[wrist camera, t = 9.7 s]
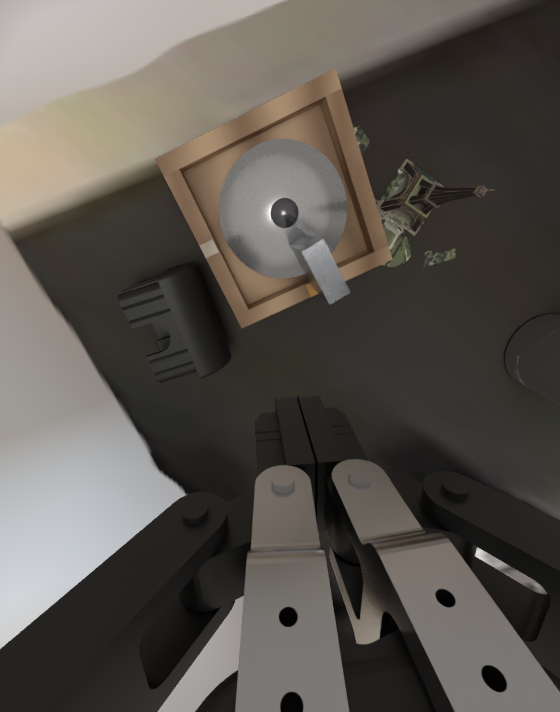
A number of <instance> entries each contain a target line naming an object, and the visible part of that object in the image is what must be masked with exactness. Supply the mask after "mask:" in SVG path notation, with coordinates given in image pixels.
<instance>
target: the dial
mask: <svg viewBox="0 0 560 712" xmlns="http://www.w3.org/2000/svg"><path fill="white" fill-rule="evenodd" d="M219 216H220V223H221V227H222V231H223V234H224V237H225V239H226V241H227V243H228V245H229V247H230V248H231V250H232V251H233V253H234V254H235V255H236V256H237V257H238V259H239V260H240V261H241V262H243V263H244V264H245V265H246V266H247V267H249V268H251V269H252V270H254V271H256V272H258V273H260V274H263V275H266V276H269V277H274V278H292V277H297V276H300V275H303V274H305V275H306V276H307V278H308V280H309V282H310V284H311V286H312V288H313V289H314V290H315V291H316V292H317V293H318V294H319V295H320V296H321V297H322V298H323V299H324V300H325V301H326V302H327V303H328V304H329V305H330V304H332V303H334V302H335V301H337V300H339V299H341V298H342V297H344V296H346V295H347V294H349V293H350V291H349V289H348V287H347V285H346V283H345V281H344V279H343V277H342V275H341V273H340V271H339V269H338V267H337V265H336V263H335V261H334V259H333V257H332V255H331V254H332V253H333V251H334V250H335V248H336V247H337V245H338V243H339V241H340V239H341V237H342V234H343V231H344V228H345V224H346V217H347V200H346V193H345V189H344V185H343V183H342V180H341V178H340V176H339V174H338V172H337V170H336V168H335V167H334V166H333V164H332V163H331V162H330V161H329V159H328V158H327V157H326V156H325V155H324V154H322V153H321V152H320V151H319V150H317V149H316V148H314V147H312V146H311V145H308V144H306V143H304V142H301V141H297V140H292V139H274V140H270V141H266V142H263V143H260V144H258V145H256V146H254V147H252V148H251V149H249V150H248V151H247V152H245V153H244V154H243V155H242V156H241V157H240V158H239V159H238V160H237V161H236V162H235V163H234V165H233V166H232V167H231V169H230V171H229V172H228V174H227V176H226V178H225V181H224V183H223V186H222V190H221V194H220V201H219Z"/></svg>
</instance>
